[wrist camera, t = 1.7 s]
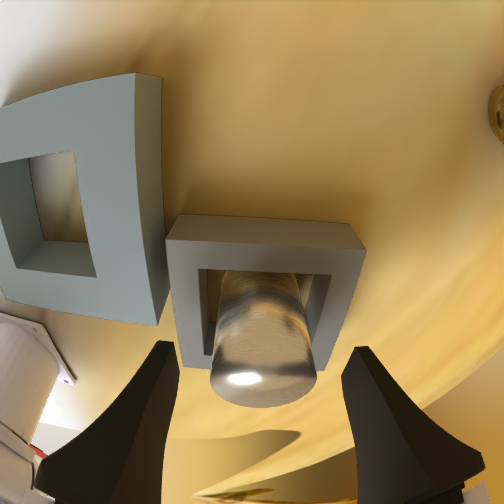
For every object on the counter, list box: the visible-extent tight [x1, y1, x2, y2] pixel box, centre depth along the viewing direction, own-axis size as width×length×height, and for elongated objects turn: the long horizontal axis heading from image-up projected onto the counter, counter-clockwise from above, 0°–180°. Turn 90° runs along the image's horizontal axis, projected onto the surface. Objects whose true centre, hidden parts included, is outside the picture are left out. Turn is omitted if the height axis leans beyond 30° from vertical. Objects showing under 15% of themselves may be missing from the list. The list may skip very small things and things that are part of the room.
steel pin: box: [210, 270, 317, 408], centre depth 12 cm, size 4×4×6 cm
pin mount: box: [165, 214, 366, 371], centre depth 14 cm, size 8×8×2 cm
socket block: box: [0, 73, 171, 326], centre depth 11 cm, size 10×10×3 cm
